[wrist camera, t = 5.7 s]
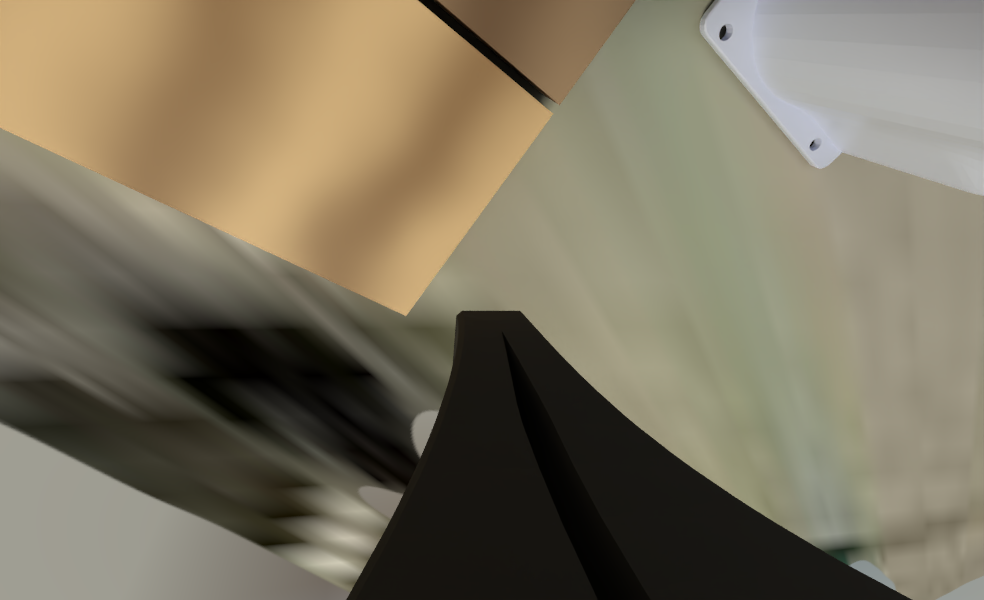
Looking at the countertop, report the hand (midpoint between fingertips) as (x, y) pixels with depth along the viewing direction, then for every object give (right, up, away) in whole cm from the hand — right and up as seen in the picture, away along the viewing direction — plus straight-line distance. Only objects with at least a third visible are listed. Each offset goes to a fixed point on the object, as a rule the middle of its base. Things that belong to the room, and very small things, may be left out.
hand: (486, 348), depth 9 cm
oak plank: (-8, +9, +5) cm, 13 cm away
